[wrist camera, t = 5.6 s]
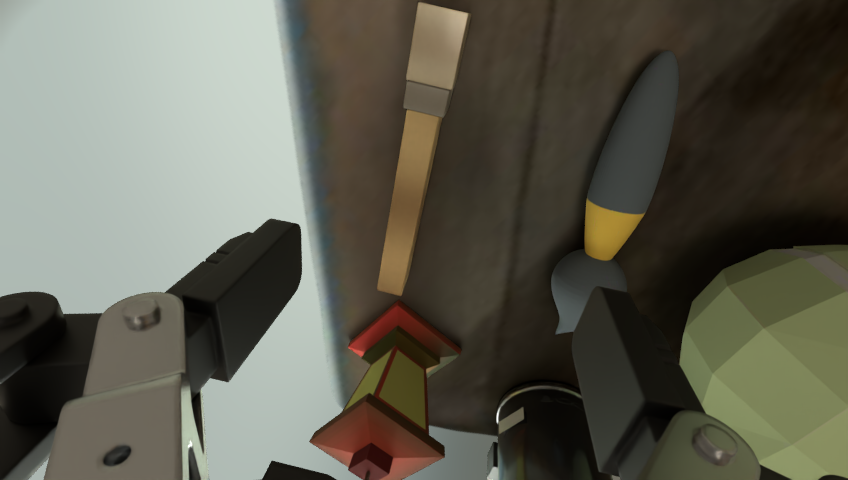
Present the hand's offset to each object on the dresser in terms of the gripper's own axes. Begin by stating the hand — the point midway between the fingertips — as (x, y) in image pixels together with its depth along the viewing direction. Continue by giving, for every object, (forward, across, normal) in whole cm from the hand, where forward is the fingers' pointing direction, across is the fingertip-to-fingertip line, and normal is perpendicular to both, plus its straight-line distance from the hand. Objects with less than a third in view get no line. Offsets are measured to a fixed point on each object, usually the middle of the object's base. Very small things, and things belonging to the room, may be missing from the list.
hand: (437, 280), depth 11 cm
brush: (+18, +3, +4) cm, 19 cm away
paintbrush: (+18, -10, +4) cm, 21 cm away
